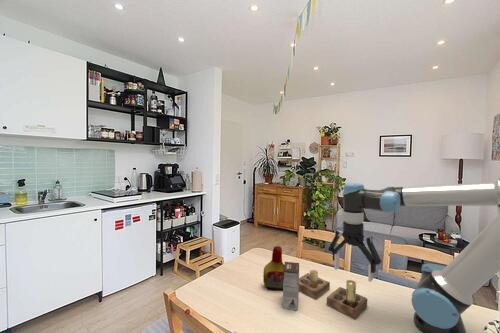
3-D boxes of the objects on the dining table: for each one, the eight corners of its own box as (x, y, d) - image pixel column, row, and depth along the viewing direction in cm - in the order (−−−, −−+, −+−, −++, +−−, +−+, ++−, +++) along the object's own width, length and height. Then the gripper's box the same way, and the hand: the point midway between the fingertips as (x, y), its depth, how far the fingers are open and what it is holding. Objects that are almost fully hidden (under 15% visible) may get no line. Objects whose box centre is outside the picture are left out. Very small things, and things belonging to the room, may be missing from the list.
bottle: (288, 286, 115) (289, 245, 114) (287, 293, 109) (288, 250, 108) (264, 282, 118) (265, 243, 117) (262, 289, 112) (262, 247, 111)
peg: (356, 311, 97) (357, 282, 96) (352, 315, 95) (353, 285, 94) (348, 307, 100) (349, 279, 99) (343, 310, 97) (344, 282, 97)
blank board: (367, 306, 100) (367, 297, 100) (355, 319, 92) (355, 310, 92) (339, 294, 109) (340, 286, 109) (326, 305, 101) (326, 296, 101)
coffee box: (283, 296, 107) (284, 260, 106) (298, 298, 106) (299, 262, 105) (282, 308, 98) (283, 270, 97) (298, 311, 97) (299, 272, 96)
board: (329, 289, 113) (330, 268, 112) (316, 299, 104) (316, 277, 104) (307, 279, 121) (308, 260, 121) (293, 288, 113) (294, 267, 113)
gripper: (390, 226, 89) (390, 282, 89) (328, 215, 107) (328, 262, 108) (384, 230, 84) (383, 289, 84) (320, 218, 102) (320, 267, 102)
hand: (352, 274), depth 96 cm, fingers open, 13 cm apart
